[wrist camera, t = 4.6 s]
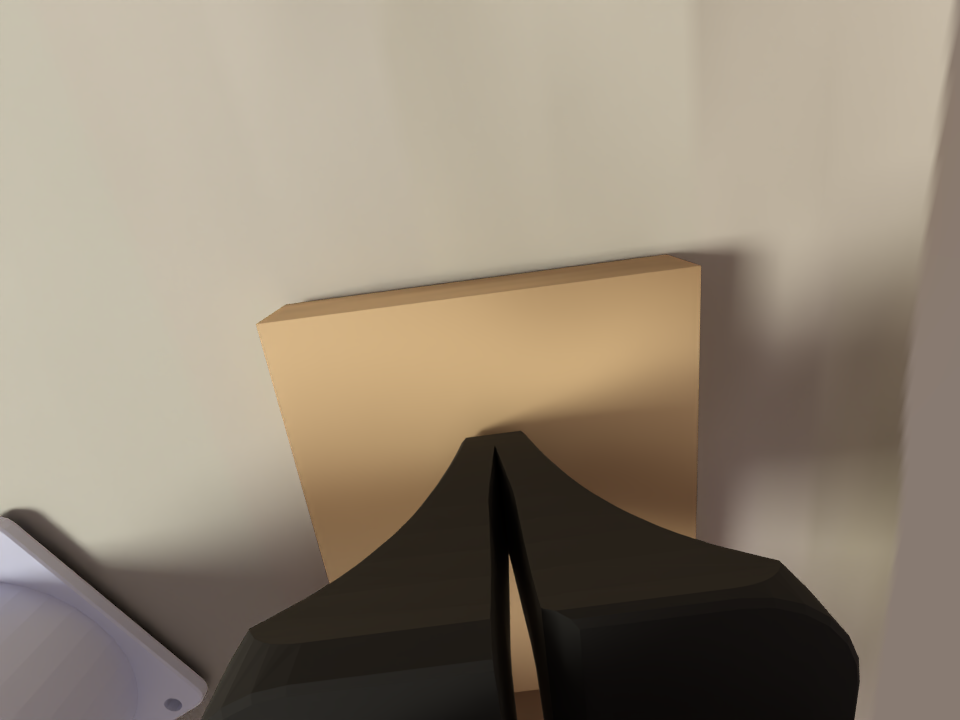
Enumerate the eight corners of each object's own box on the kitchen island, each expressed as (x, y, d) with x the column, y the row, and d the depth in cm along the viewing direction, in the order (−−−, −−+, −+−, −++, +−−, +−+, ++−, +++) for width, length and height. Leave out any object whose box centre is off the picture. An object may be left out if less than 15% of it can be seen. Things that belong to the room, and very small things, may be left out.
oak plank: (667, 616, 15) (693, 670, 14) (376, 652, 15) (365, 710, 14) (666, 254, 12) (700, 265, 10) (285, 304, 12) (256, 324, 10)
